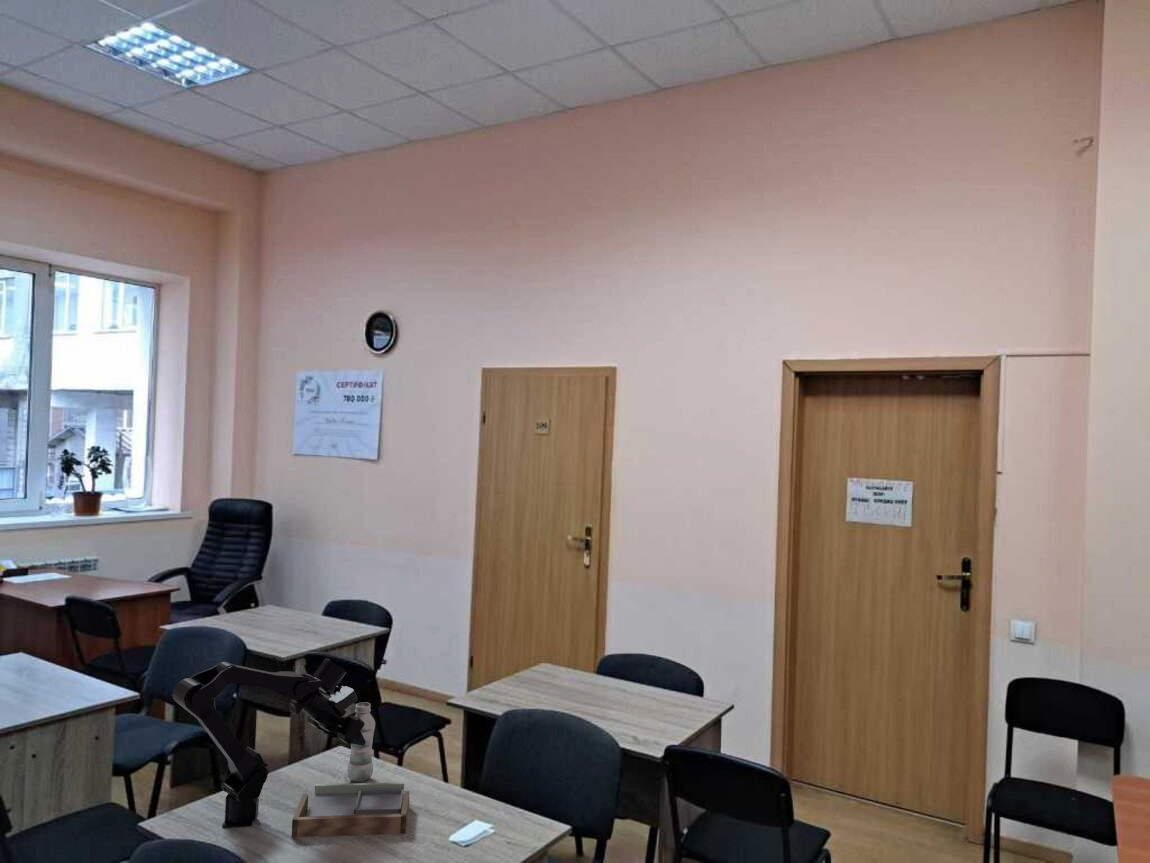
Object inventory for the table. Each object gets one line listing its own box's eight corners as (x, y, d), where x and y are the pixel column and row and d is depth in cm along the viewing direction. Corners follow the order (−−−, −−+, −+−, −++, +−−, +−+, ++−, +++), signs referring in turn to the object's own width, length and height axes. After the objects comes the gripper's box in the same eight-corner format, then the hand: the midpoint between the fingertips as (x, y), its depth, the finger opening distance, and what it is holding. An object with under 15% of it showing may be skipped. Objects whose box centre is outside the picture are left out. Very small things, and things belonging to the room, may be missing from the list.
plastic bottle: (346, 775, 215) (349, 701, 215) (372, 773, 217) (375, 699, 217) (347, 786, 208) (350, 709, 208) (373, 783, 210) (376, 707, 211)
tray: (305, 819, 189) (306, 808, 189) (315, 795, 202) (315, 784, 202) (400, 817, 192) (400, 805, 192) (403, 792, 205) (404, 782, 205)
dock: (291, 837, 181) (292, 819, 181) (302, 810, 194) (303, 793, 194) (405, 833, 185) (406, 816, 185) (408, 807, 198) (409, 791, 198)
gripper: (359, 688, 201) (394, 721, 209) (319, 671, 213) (353, 703, 221) (330, 727, 195) (367, 759, 203) (290, 708, 207) (327, 739, 215)
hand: (354, 738), depth 211 cm, fingers open, 9 cm apart
